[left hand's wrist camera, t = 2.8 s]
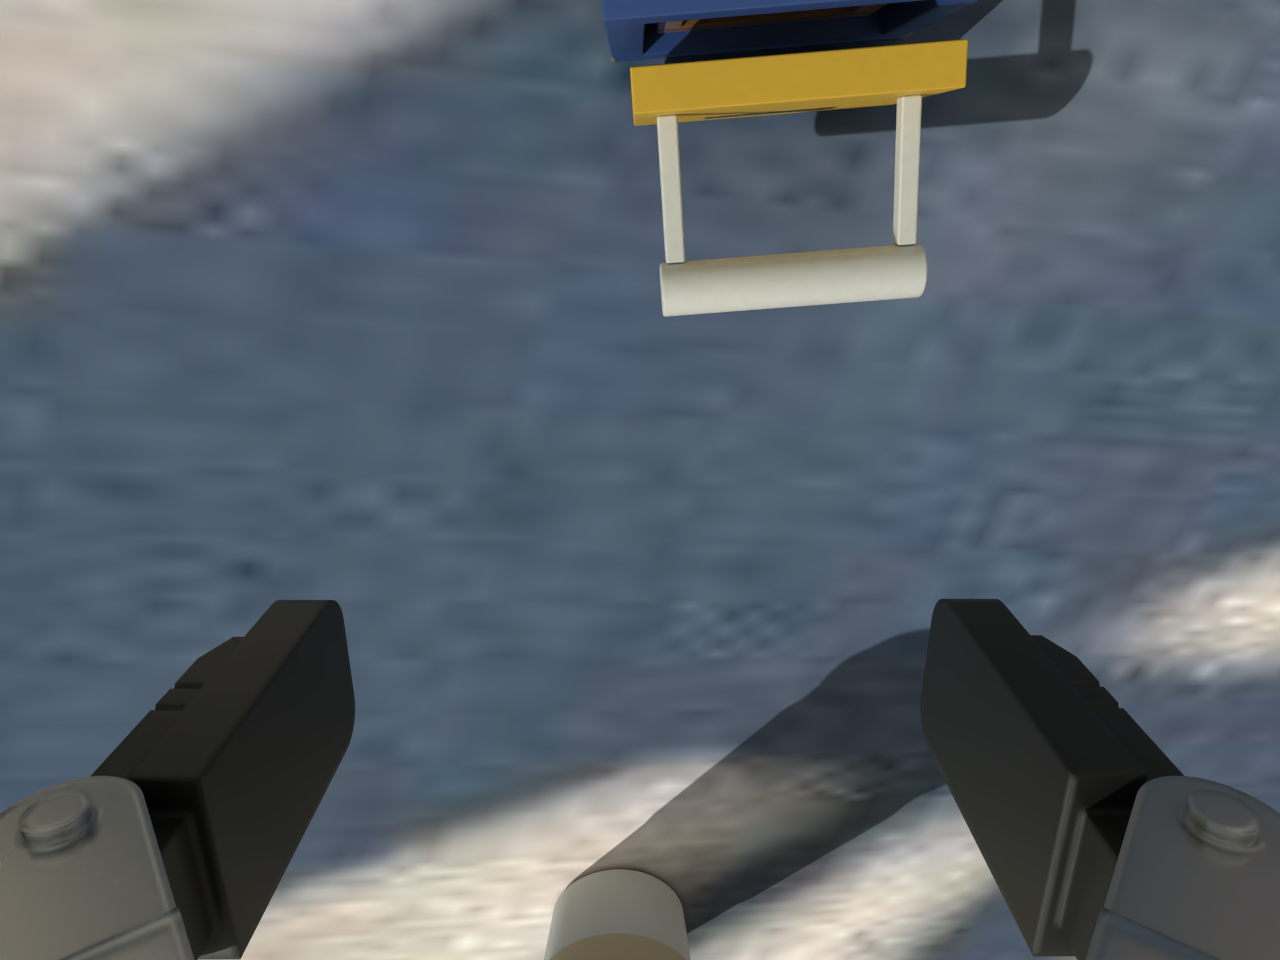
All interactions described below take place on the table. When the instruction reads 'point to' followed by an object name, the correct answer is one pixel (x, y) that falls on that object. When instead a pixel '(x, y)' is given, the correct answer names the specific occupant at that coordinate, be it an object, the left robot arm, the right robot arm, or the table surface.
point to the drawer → (783, 90)
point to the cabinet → (642, 3)
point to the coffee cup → (618, 919)
